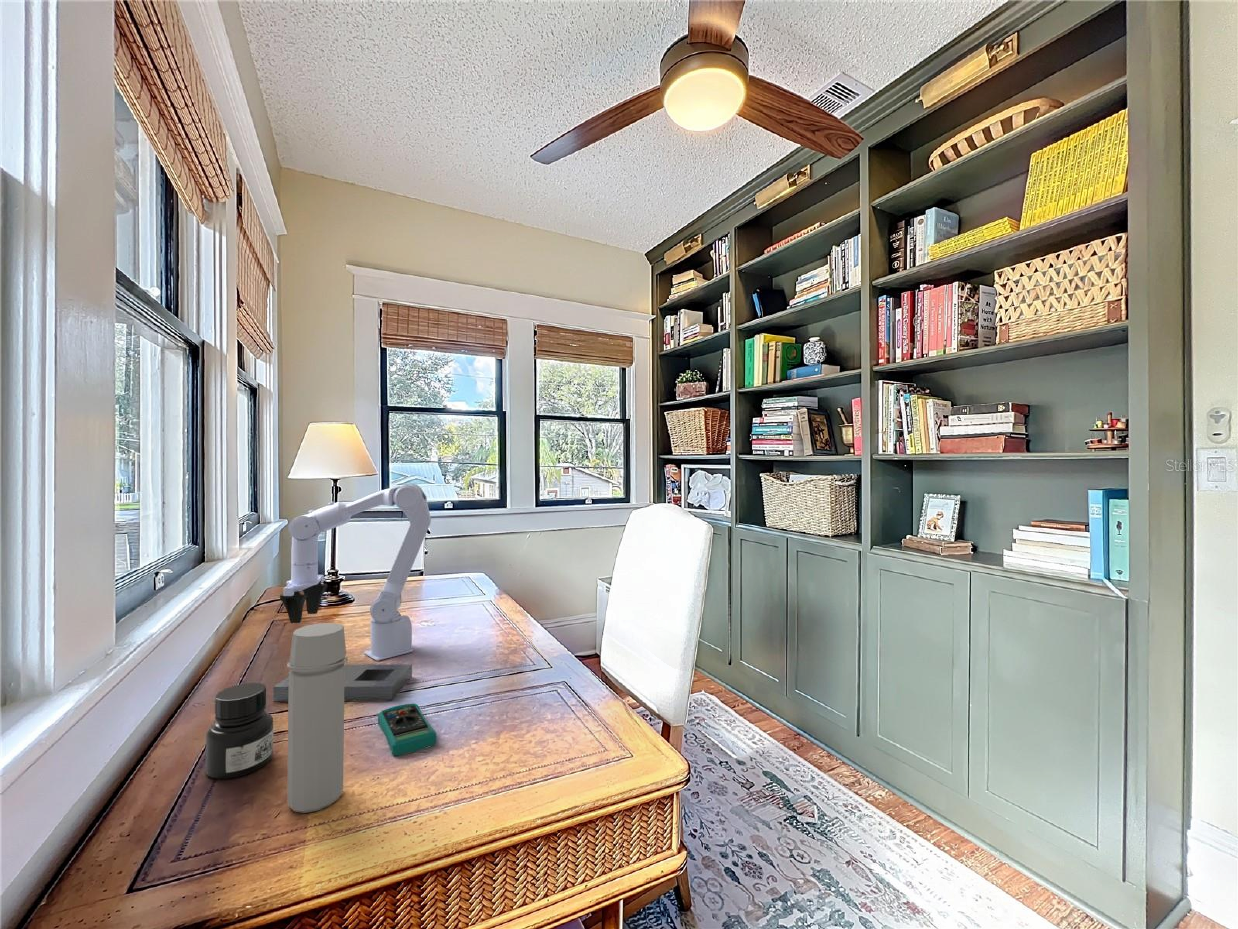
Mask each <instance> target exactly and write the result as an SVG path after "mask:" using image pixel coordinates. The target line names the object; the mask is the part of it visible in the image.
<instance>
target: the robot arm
mask: <svg viewBox="0 0 1238 929" xmlns="http://www.w3.org/2000/svg"><path fill="white" fill-rule="evenodd" d="M427 498H428V497H427V495H426V494H425V492H424V491H423V489H422V487H420V486H419V485H418V484H415V483H406V484H404V485H401V486H400V485H399V486H394V487H389V488H386V489H382V490H380V491H377V492H375V493H372V494H369V495H366V496H365V497H362V498H360V499H357V500H355V501H352V502H349V503H344V502H342V501H341V502H340V501H337V502H335V501H331V502H328V503H327V506H324V507H320V508H319V509H316V510H315V509H310V510H308V511H307V512H308V513H307V514H303V515H298V516H297V517H294V518H293V519H292V520H291V521H290V523H289V524H288V528H287V529H288V533H289V534H290V536H291V546H290V547H291V551H290V552H291V554H290V556H291V560H290V562H291V564H290V565H291V566H290V570H291V571H290V572H291V573H290V574H291V575H290V577H291V578H290V580H287V581H286V586H285V587H283V589H282V592H283V593H281V594H280V595H279V599H280V601H281V602H282V603H283V605H284V607H285V610H286V613H287V616H288V619H289V622H290V624H300V623H301V621H302V618H303V609H304V605H305V604H306V605H305V607H306V613H307V614H308V615H316V614H318V613H319V609H320V603H321V600H322V598H323V595H324V593H325V592H326V590H327V588H328V584H327V583H324V578H325V577H324V576H325V575H324V574H319V541H318V540H319V539H318V538H319V533H325V532H327V531H329V530H332V529H335V528H338V527H340V526H343V525H345V524H347V523H349V522H350V520H351V517H352V516H354V515H356V514H359V513H363V512H365V511H368V510H371V509H373V508H377V507H379V506H387V507H393V506H396V507H397V508H399V509H400V510H401V511H402V512H403V513H404V514H405V516H406V518H407V520H408V522H409V524H410V525H409V526H408V529H407V532H406V533H405V535H404V538H403V541H402V544H401V546H400V548H399V551H397V552H398V553H397V555H396V558H395V560H394V562H393V564H392V567H391V569H390V571H389V574H388V576H387V579H386V581H385V583H384V585H383V587H382V590H381V591H380V592H379V593H378V595H377V596H376V598H375V599H374V601H373V602H372V603H371V605H370V607H369V614H370V616H371V617H370V647H369V648H370V649H368V650H365V651H363V653H364V654H365V655H367V656H368V657H370V658H371V659H373V660H374V661H377V662H379V661H381V660H382V661H383V660H385V659H386V660H387V659H390V658H394V657H397V656H400V655H405V654H408V653H412V652H414V649H413V647H412V645H413V643H412V641H413V636H412V635H413V626H412V622H411V620H412V619H410V617H409V616H408V615H405V614H404V615H402V614H401V612H400V611H399V608H400V607H401V605H402V601H403V600H402V593H403V590H404V589H405V588H404V587H405V585H406V582H407V580H408V578H409V575H410V572H411V571H412V568H413V566H414V564H415V561H416V559H417V556H418V554H419V551H420V549H421V547H422V544H423V542H424V539H425V537H426V534H427V533H428V530H429V528H430V525H431V522H432V517H431V514H430V508H429V505H428V499H427ZM301 591H302V592H303V593H302V594H301Z"/></svg>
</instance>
